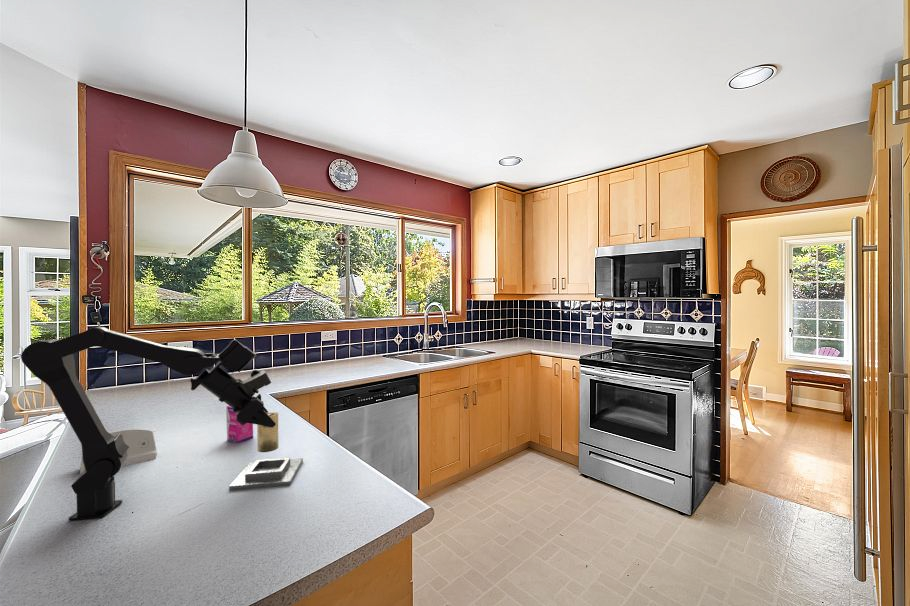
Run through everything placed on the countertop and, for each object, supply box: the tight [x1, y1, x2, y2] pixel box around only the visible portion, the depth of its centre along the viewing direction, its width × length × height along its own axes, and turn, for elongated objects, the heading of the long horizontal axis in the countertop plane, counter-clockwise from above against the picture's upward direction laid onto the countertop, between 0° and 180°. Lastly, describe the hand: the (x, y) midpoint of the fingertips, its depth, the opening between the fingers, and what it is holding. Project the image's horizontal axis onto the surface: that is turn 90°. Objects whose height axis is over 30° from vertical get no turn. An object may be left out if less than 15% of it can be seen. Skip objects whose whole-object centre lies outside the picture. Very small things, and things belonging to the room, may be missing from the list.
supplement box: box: [225, 405, 254, 444], centre depth 128 cm, size 6×6×12 cm
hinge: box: [79, 428, 158, 476], centre depth 111 cm, size 17×5×10 cm, turn 128°
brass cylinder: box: [256, 411, 279, 453], centre depth 102 cm, size 5×5×9 cm
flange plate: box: [228, 457, 304, 491], centre depth 101 cm, size 14×14×2 cm
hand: (273, 422), depth 102 cm, fingers closed on brass cylinder, 5 cm apart
